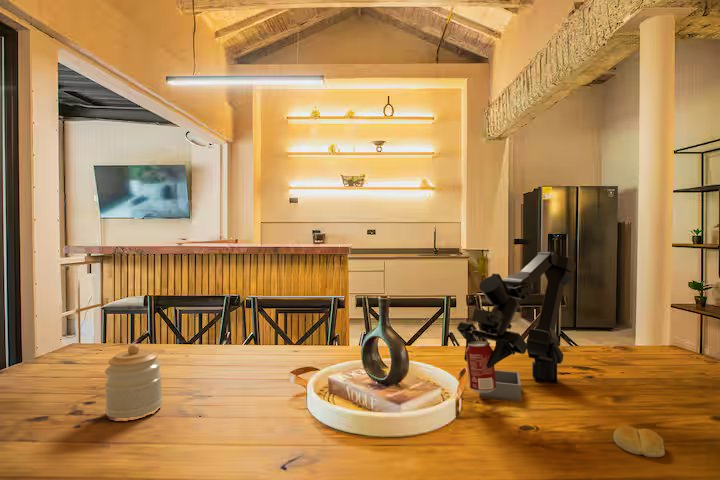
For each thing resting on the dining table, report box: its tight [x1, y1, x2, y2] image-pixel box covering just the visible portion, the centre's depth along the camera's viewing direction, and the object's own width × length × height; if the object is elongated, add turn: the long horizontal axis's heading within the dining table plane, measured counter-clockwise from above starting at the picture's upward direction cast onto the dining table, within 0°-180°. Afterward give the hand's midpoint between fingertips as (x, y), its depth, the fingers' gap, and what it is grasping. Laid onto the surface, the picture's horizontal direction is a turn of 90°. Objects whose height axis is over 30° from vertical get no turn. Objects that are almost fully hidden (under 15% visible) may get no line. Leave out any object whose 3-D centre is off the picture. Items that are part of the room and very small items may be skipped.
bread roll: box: [613, 425, 665, 458], centre depth 87 cm, size 8×9×4 cm
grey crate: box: [478, 369, 522, 403], centre depth 117 cm, size 11×11×4 cm
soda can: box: [465, 340, 496, 394], centre depth 107 cm, size 7×7×12 cm
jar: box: [104, 343, 163, 418], centre depth 107 cm, size 13×13×18 cm
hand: (476, 363), depth 107 cm, fingers closed on soda can, 7 cm apart
